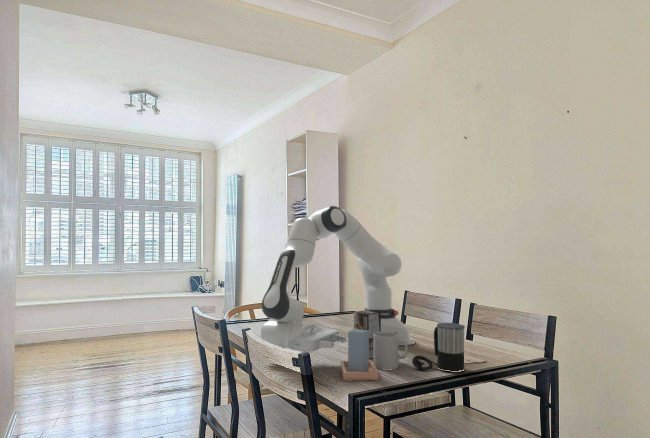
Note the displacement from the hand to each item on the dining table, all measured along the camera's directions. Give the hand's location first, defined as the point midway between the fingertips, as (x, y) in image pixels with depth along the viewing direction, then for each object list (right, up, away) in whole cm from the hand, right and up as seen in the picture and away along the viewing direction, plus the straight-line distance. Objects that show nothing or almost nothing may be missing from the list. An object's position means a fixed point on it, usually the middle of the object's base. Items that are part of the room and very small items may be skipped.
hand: (339, 342), depth 147 cm
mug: (+18, -10, +6) cm, 21 cm away
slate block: (+6, -9, -4) cm, 11 cm away
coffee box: (+11, -11, +21) cm, 27 cm away
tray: (+6, -9, -4) cm, 12 cm away
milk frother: (+34, -10, +3) cm, 35 cm away
